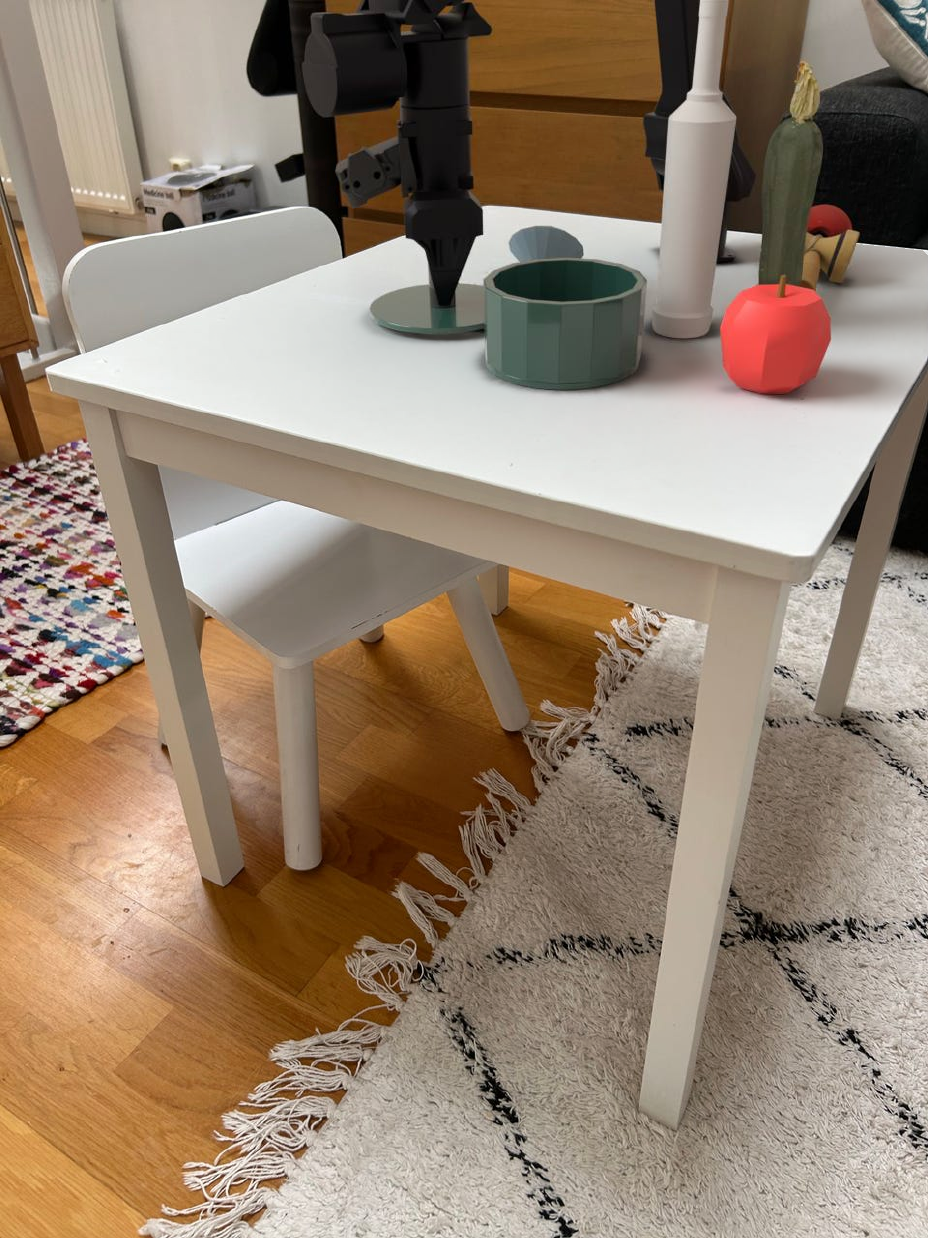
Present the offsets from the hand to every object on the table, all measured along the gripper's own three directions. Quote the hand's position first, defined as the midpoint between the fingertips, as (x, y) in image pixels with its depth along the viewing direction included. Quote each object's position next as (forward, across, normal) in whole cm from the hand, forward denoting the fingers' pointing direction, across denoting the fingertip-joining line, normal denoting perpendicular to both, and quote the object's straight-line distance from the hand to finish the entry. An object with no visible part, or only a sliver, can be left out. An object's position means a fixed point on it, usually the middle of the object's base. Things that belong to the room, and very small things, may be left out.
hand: (442, 297), depth 87 cm
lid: (+1, 0, 0) cm, 1 cm away
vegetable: (+2, +7, +28) cm, 29 cm away
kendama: (+2, -4, +36) cm, 36 cm away
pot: (+2, +13, +9) cm, 16 cm away
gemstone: (+2, -11, +11) cm, 16 cm away
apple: (+2, +20, +24) cm, 31 cm away
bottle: (+2, +7, +20) cm, 22 cm away
